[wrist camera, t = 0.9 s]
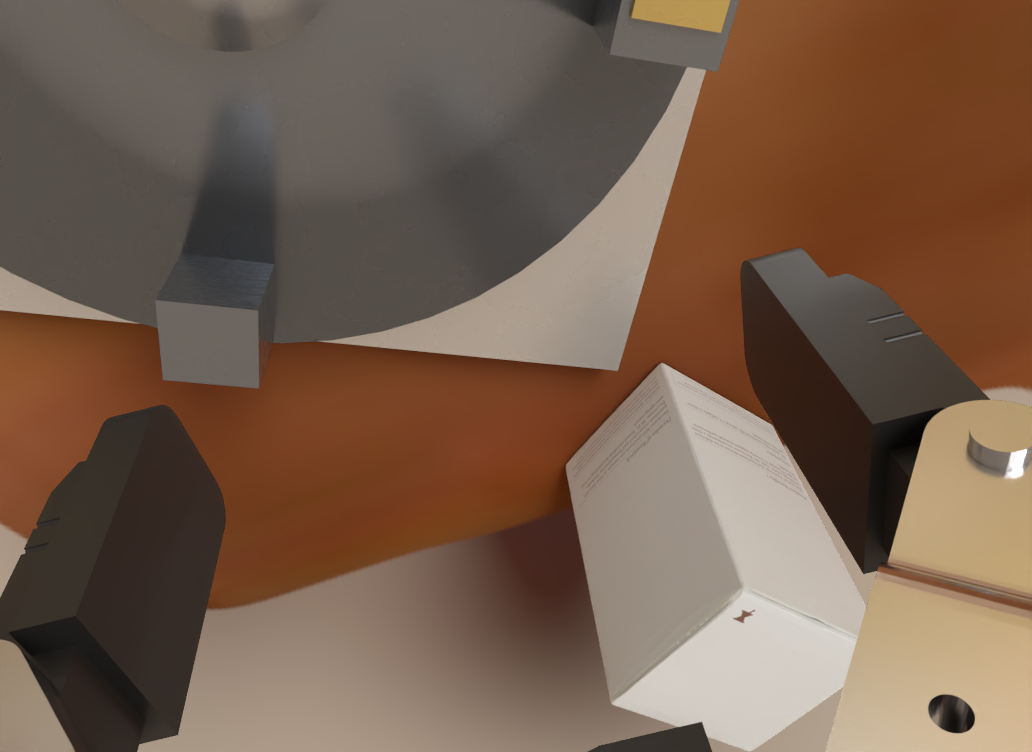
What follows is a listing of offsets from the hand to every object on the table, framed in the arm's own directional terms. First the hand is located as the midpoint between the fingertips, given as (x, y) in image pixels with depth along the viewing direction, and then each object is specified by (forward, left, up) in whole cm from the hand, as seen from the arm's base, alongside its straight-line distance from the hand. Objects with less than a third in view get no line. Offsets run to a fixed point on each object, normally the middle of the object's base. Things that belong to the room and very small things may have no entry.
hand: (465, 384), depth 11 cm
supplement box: (-12, +17, -20) cm, 29 cm away
